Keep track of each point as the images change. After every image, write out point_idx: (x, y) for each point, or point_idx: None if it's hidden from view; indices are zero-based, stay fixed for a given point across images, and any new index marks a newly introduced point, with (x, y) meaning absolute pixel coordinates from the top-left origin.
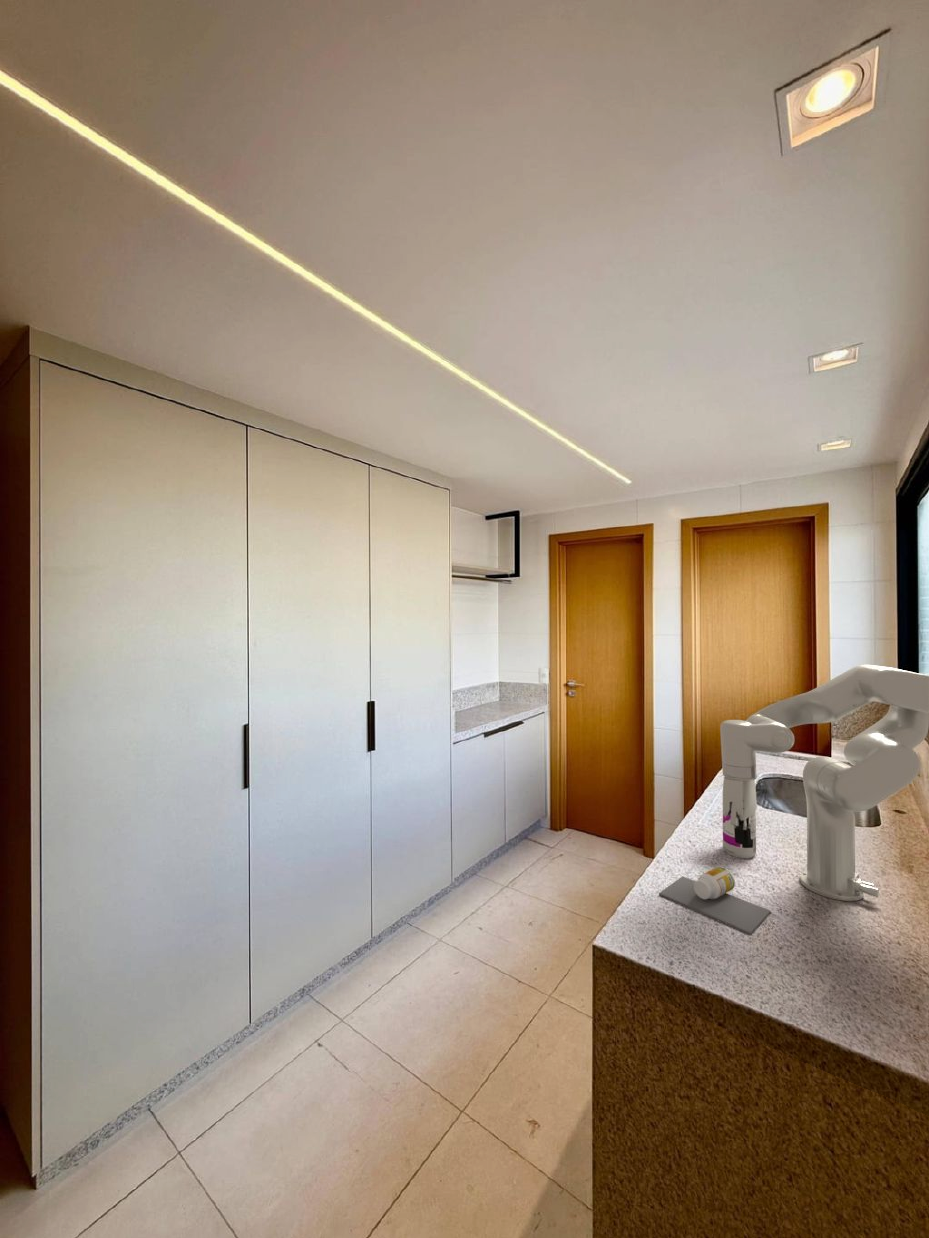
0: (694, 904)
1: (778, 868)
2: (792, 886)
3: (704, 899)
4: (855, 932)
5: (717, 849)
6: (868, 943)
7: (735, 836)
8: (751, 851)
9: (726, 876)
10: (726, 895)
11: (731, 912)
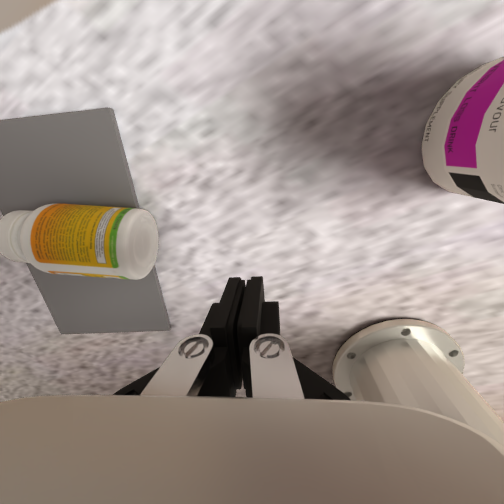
0: None
1: (422, 266)
2: (332, 318)
3: None
4: None
5: (452, 55)
6: None
7: (224, 294)
8: (461, 193)
9: (102, 276)
10: None
11: (83, 287)
